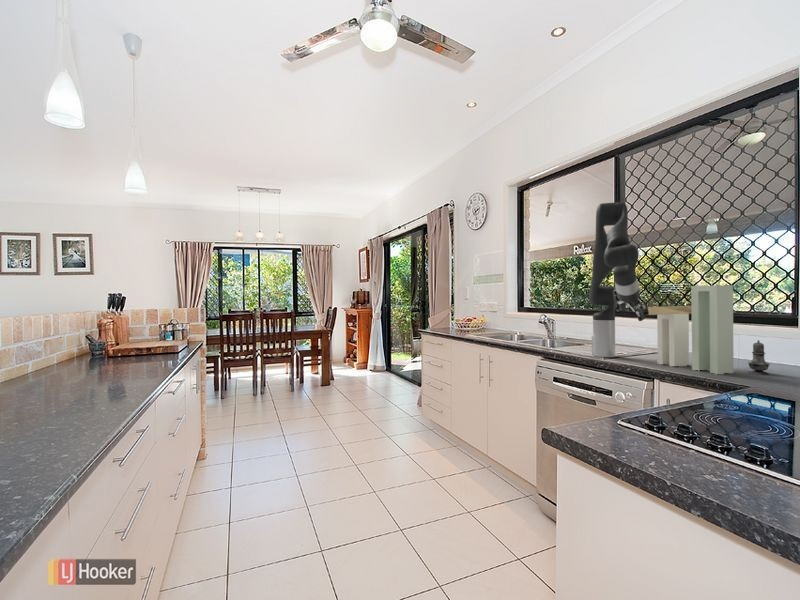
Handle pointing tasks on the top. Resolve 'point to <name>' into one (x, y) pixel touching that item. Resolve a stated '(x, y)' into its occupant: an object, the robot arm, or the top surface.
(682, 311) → the oak slat
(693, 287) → the sage stand
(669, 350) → the cream shelf
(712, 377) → the top surface
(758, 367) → the salt shaker
